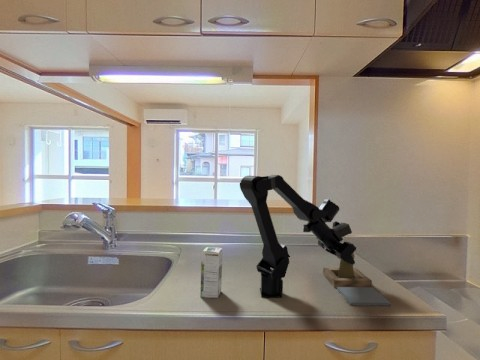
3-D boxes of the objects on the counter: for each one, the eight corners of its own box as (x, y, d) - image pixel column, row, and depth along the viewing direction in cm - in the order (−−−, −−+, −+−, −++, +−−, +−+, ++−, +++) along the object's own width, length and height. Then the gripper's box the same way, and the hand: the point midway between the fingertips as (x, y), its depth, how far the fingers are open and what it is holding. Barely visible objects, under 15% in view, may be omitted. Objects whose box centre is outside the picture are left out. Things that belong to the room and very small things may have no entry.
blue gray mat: (350, 305, 91) (350, 302, 91) (337, 289, 103) (337, 286, 103) (390, 305, 91) (390, 302, 91) (372, 289, 103) (372, 287, 103)
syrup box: (204, 290, 100) (204, 246, 100) (222, 291, 100) (222, 247, 99) (200, 297, 95) (200, 251, 94) (218, 298, 94) (219, 252, 93)
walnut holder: (334, 287, 104) (334, 280, 104) (323, 274, 117) (323, 267, 117) (371, 287, 105) (371, 280, 105) (356, 274, 118) (356, 268, 118)
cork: (340, 276, 115) (341, 247, 115) (357, 280, 111) (358, 250, 111) (334, 280, 111) (335, 250, 110) (351, 285, 107) (352, 254, 106)
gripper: (351, 220, 100) (380, 252, 103) (326, 212, 119) (351, 239, 121) (328, 244, 99) (358, 276, 102) (306, 232, 118) (332, 259, 120)
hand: (350, 261), depth 111 cm, fingers closed on cork, 5 cm apart
